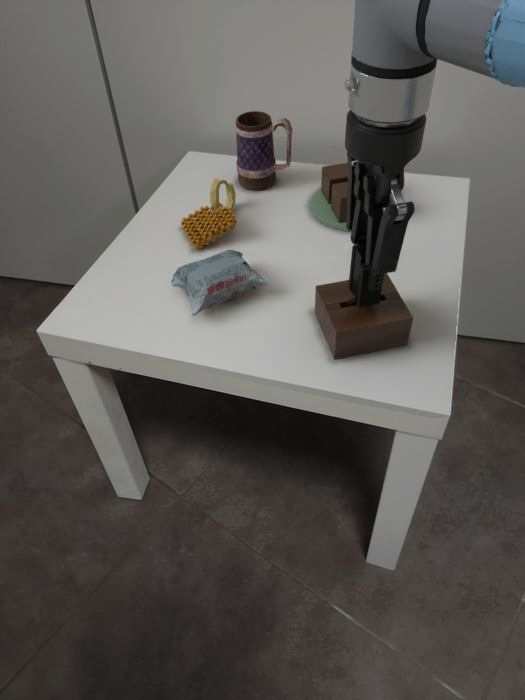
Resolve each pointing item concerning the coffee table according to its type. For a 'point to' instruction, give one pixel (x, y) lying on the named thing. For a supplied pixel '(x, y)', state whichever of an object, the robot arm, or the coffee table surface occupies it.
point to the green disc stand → (332, 197)
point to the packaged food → (217, 279)
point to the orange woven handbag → (211, 217)
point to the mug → (258, 149)
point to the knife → (357, 275)
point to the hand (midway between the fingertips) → (363, 295)
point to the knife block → (361, 320)
